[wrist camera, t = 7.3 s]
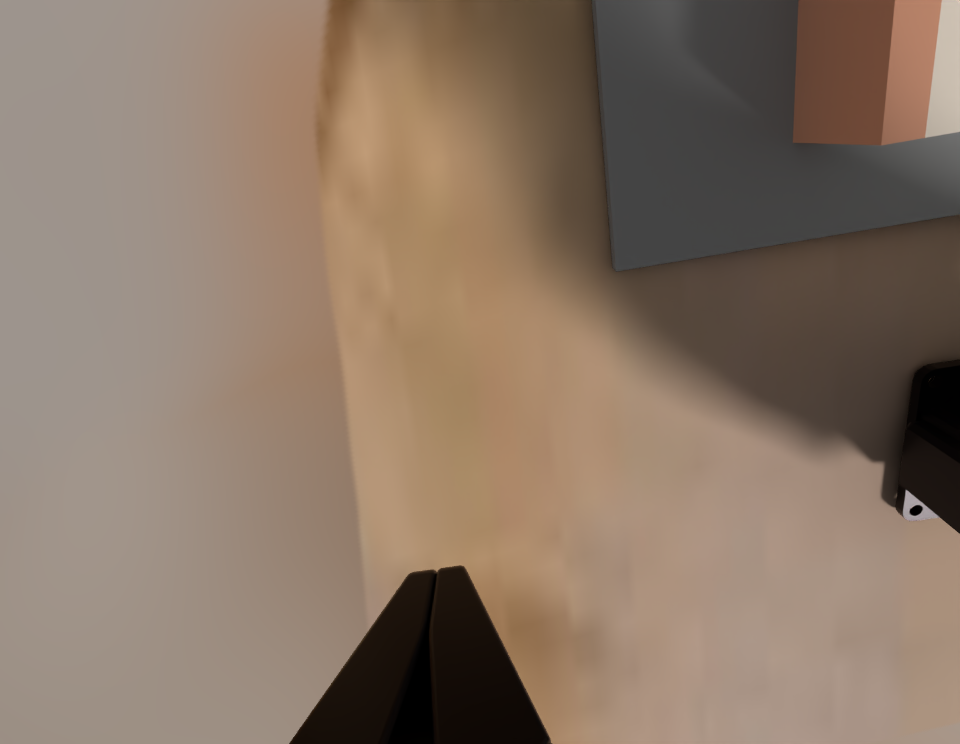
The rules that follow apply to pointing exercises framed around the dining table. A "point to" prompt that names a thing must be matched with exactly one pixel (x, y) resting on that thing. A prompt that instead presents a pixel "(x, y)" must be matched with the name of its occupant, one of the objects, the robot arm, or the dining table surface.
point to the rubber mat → (736, 139)
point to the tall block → (876, 71)
